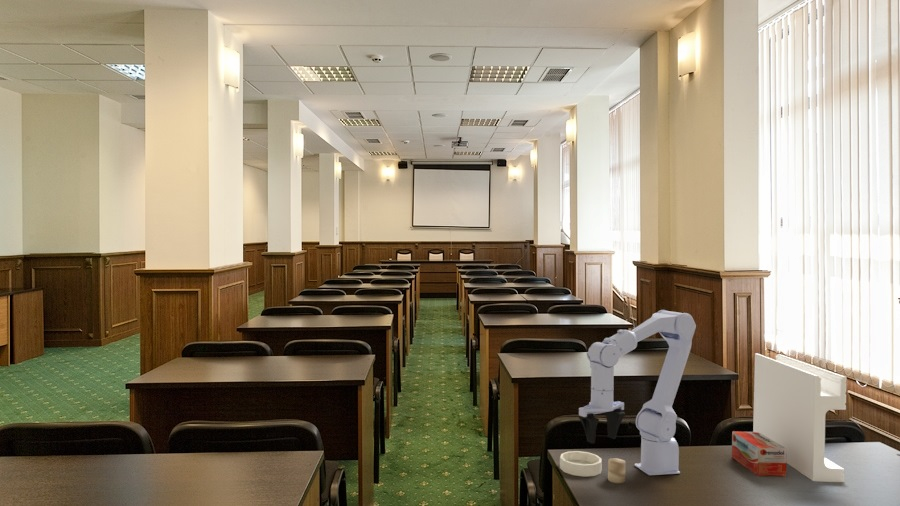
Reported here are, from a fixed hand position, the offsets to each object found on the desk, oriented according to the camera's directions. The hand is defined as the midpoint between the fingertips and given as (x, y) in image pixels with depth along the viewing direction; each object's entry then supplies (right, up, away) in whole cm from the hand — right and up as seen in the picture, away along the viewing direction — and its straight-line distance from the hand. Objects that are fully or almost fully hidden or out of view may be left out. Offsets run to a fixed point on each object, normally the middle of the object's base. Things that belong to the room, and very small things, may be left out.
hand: (601, 440), depth 158 cm
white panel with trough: (+62, -12, +19) cm, 65 cm away
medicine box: (+47, -12, +12) cm, 50 cm away
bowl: (-4, -10, +7) cm, 13 cm away
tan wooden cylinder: (+4, -10, -1) cm, 11 cm away
